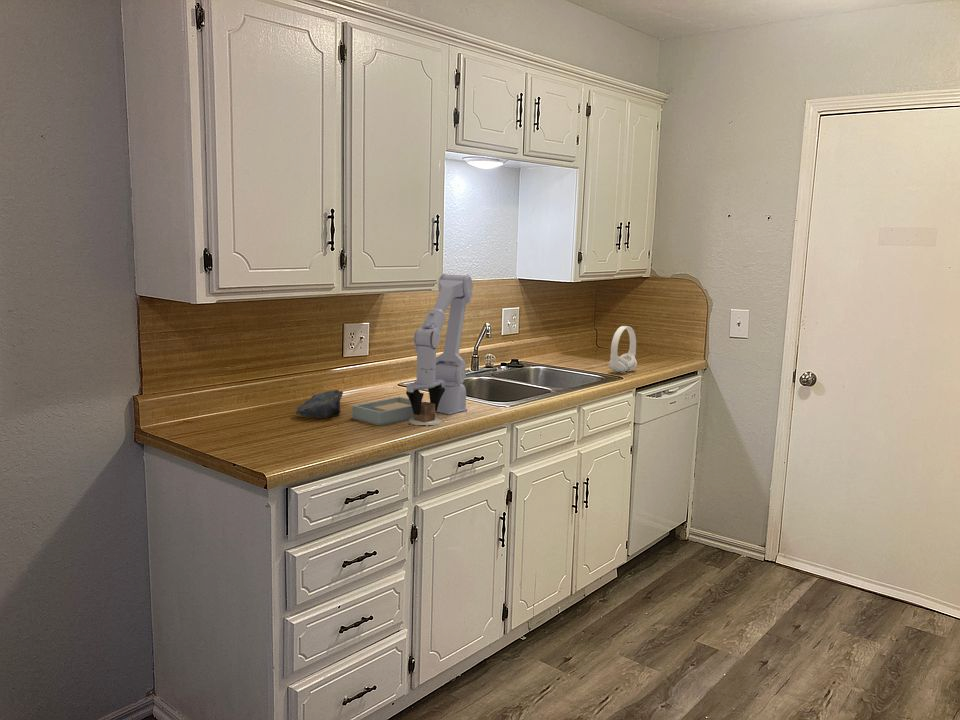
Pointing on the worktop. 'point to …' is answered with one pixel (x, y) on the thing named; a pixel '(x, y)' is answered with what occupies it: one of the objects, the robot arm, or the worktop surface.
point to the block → (426, 412)
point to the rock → (321, 405)
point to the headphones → (625, 360)
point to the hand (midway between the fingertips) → (425, 412)
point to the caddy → (383, 411)
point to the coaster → (434, 422)
